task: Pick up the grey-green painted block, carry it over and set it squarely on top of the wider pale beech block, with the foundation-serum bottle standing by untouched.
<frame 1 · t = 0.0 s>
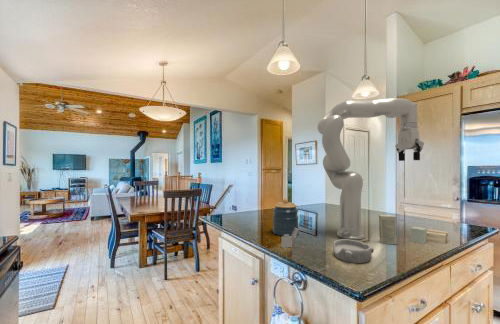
hand: (408, 160, 128), 37 cm above the counter, tool pointing down, fingers open, 9 cm apart
lighter: (290, 247, 105), on the counter
dish: (352, 257, 94), on the counter
grey-green block: (418, 241, 114), on the counter
beech block: (435, 240, 116), on the counter
canister: (285, 233, 127), on the counter
skincare box: (387, 243, 112), on the counter
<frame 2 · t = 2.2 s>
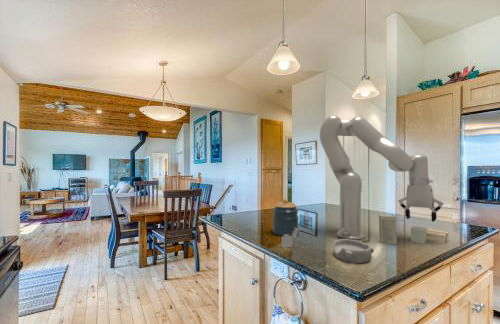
hand: (420, 219, 114), 10 cm above the counter, tool pointing down, fingers open, 9 cm apart
nothing on the counter moved.
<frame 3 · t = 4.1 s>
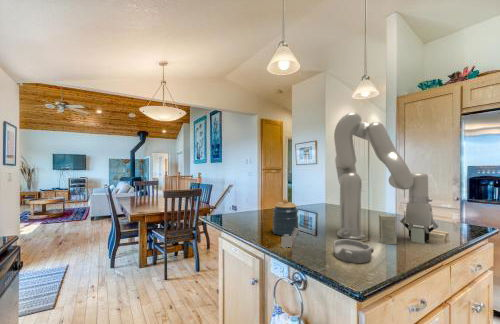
hand: (418, 239, 115), 1 cm above the counter, tool pointing down, fingers closed on grey-green block, 5 cm apart
grey-green block: (418, 241, 114), on the counter, touching gripper
everything else where it was.
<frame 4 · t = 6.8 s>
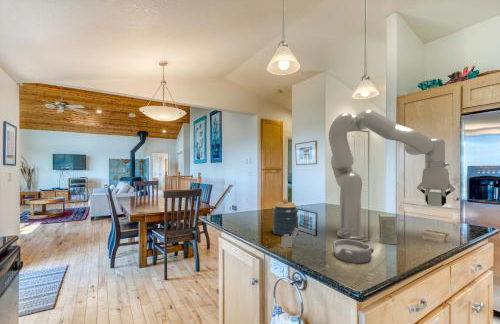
hand: (435, 203, 117), 17 cm above the counter, tool pointing down, fingers closed on grey-green block, 5 cm apart
grey-green block: (435, 205, 117), point 16 cm above the counter, touching gripper
everything else where it was.
when the fingers open (6 cm above the counter, at t = 9.4 s): grey-green block drops 1 cm, resting on beech block.
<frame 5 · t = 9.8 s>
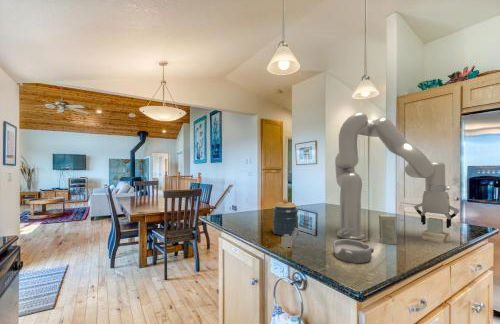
hand: (435, 225, 117), 7 cm above the counter, tool pointing down, fingers open, 8 cm apart
grey-green block: (435, 232, 117), point 4 cm above the counter, touching beech block
beech block: (436, 240, 116), on the counter, touching grey-green block
everything else where it was.
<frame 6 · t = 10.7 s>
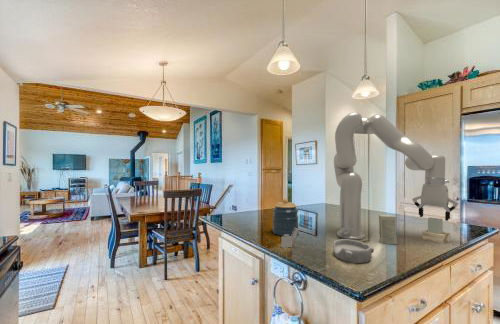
hand: (433, 218, 117), 10 cm above the counter, tool pointing down, fingers open, 9 cm apart
nothing on the counter moved.
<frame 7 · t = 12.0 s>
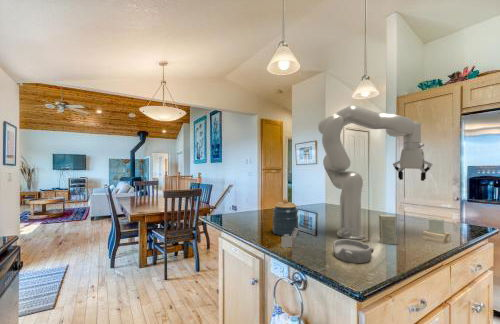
hand: (411, 180, 127), 27 cm above the counter, tool pointing down, fingers open, 9 cm apart
grey-green block: (436, 232, 116), point 4 cm above the counter
beech block: (436, 241, 116), on the counter
everything else where it was.
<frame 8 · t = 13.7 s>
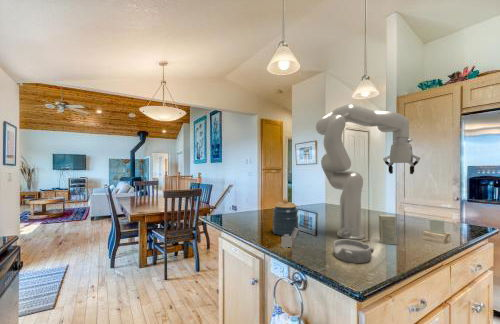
hand: (401, 173, 133), 30 cm above the counter, tool pointing down, fingers open, 9 cm apart
grey-green block: (437, 232, 116), point 4 cm above the counter, touching beech block
beech block: (437, 241, 116), on the counter, touching grey-green block
everything else where it was.
at the end: grey-green block inside the target area on the beech block (0.1 cm from its centre), point 4.0 cm above the beech block's base; grey-green block tilted 0°; the gripper is holding nothing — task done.
